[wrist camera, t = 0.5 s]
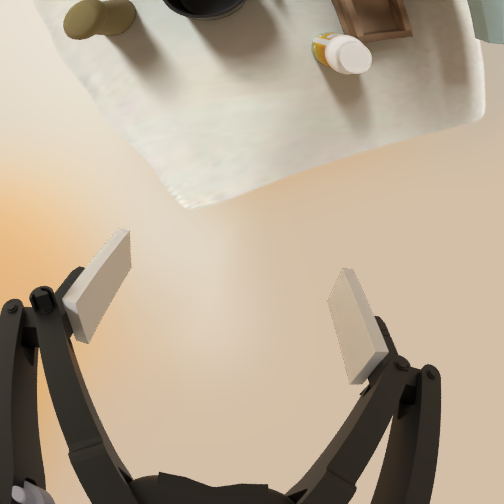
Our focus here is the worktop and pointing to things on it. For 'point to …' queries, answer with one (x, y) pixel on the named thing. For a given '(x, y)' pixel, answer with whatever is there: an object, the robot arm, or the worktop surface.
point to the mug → (205, 8)
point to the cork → (98, 18)
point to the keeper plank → (488, 20)
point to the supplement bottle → (341, 53)
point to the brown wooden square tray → (373, 19)
